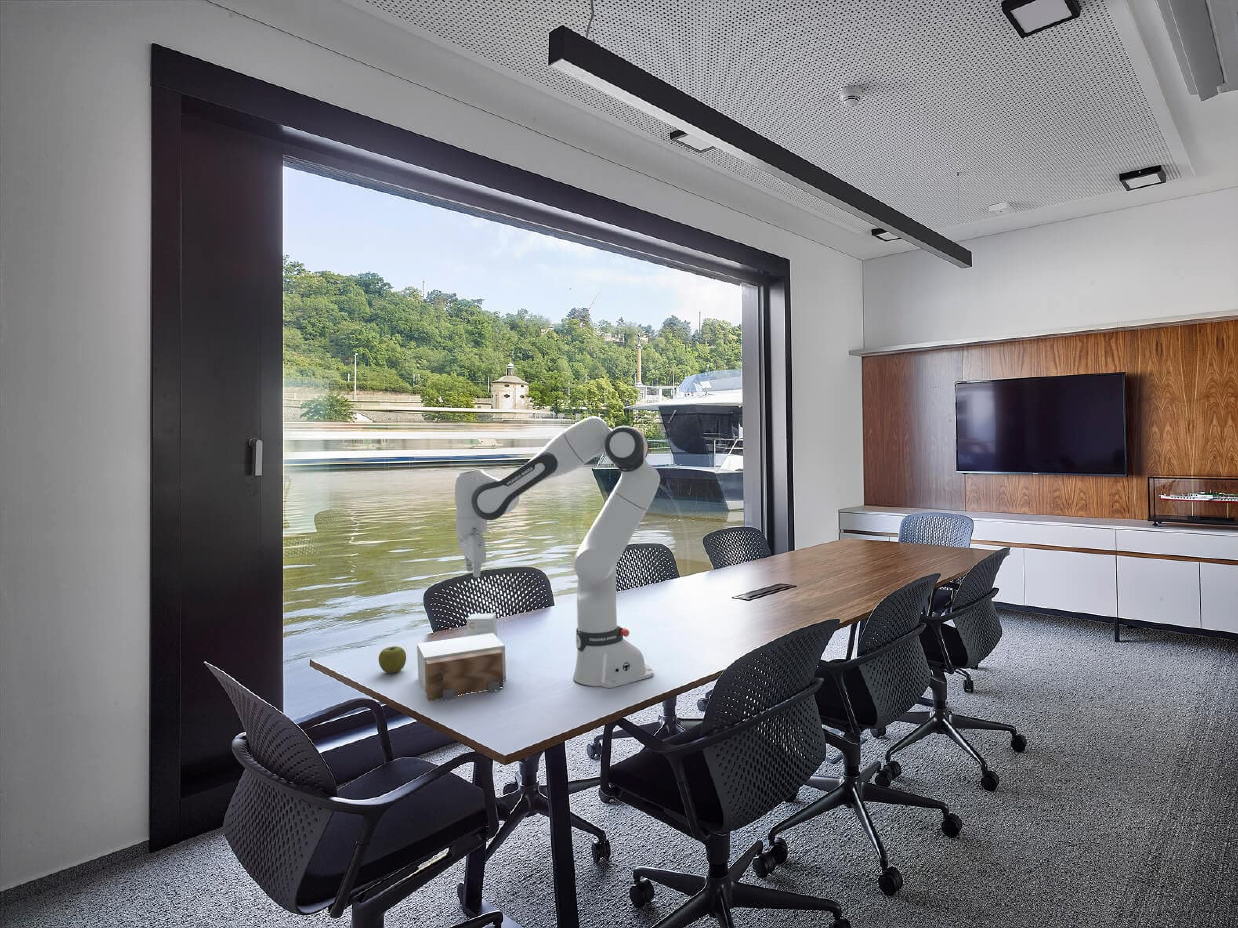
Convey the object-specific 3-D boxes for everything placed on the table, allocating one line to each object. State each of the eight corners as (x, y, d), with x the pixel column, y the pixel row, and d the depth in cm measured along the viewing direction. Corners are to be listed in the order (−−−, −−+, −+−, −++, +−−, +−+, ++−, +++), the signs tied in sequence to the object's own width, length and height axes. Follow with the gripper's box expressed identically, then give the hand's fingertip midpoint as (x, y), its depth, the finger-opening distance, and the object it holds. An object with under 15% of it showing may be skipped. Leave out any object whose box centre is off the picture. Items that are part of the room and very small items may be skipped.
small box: (498, 653, 223) (496, 612, 222) (494, 660, 216) (492, 618, 216) (472, 654, 223) (470, 613, 222) (467, 660, 216) (466, 618, 216)
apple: (373, 675, 205) (372, 651, 205) (391, 666, 213) (390, 643, 213) (394, 678, 203) (393, 653, 202) (412, 669, 210) (411, 645, 210)
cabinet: (494, 666, 211) (492, 632, 210) (512, 688, 192) (511, 652, 191) (418, 678, 202) (417, 643, 202) (429, 702, 183) (428, 664, 183)
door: (500, 684, 195) (499, 649, 195) (504, 689, 192) (502, 653, 191) (426, 697, 187) (425, 660, 187) (429, 702, 184) (427, 665, 183)
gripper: (490, 529, 194) (492, 579, 195) (475, 521, 213) (476, 567, 214) (467, 531, 192) (469, 581, 193) (453, 523, 211) (455, 569, 211)
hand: (473, 574), depth 203 cm, fingers open, 8 cm apart
